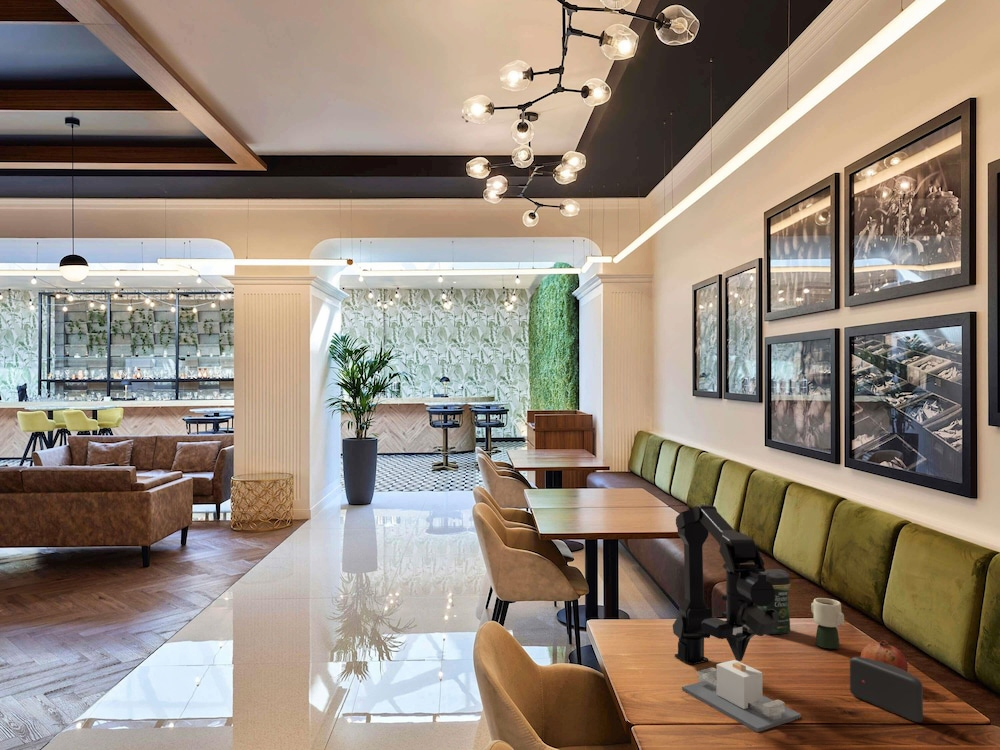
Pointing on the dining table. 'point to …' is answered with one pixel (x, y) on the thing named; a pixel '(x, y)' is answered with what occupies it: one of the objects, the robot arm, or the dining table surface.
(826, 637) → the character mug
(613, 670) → the dining table surface
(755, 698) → the block
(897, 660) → the fruit
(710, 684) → the DIN rail
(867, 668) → the dark grey smartphone
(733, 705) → the mounting plate
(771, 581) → the coffee jar
